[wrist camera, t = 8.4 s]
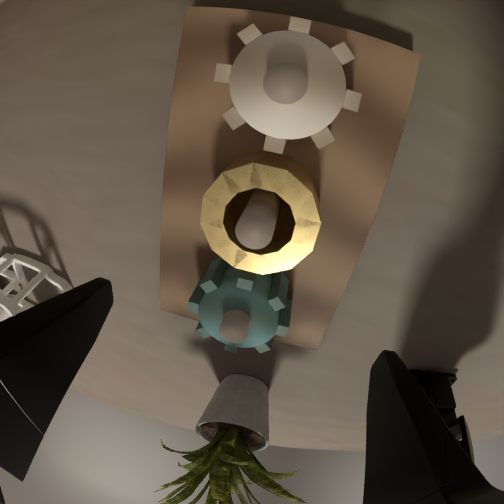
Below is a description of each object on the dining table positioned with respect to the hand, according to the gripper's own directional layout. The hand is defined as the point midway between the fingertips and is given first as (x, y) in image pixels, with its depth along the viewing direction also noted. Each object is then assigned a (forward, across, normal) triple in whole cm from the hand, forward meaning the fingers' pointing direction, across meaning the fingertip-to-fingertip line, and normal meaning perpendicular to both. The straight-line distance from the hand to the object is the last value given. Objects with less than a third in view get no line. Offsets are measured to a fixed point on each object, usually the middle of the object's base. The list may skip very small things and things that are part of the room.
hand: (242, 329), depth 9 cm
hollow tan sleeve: (+10, +1, 0) cm, 10 cm away
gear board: (+12, +1, 0) cm, 12 cm away
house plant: (+12, -1, +23) cm, 26 cm away
